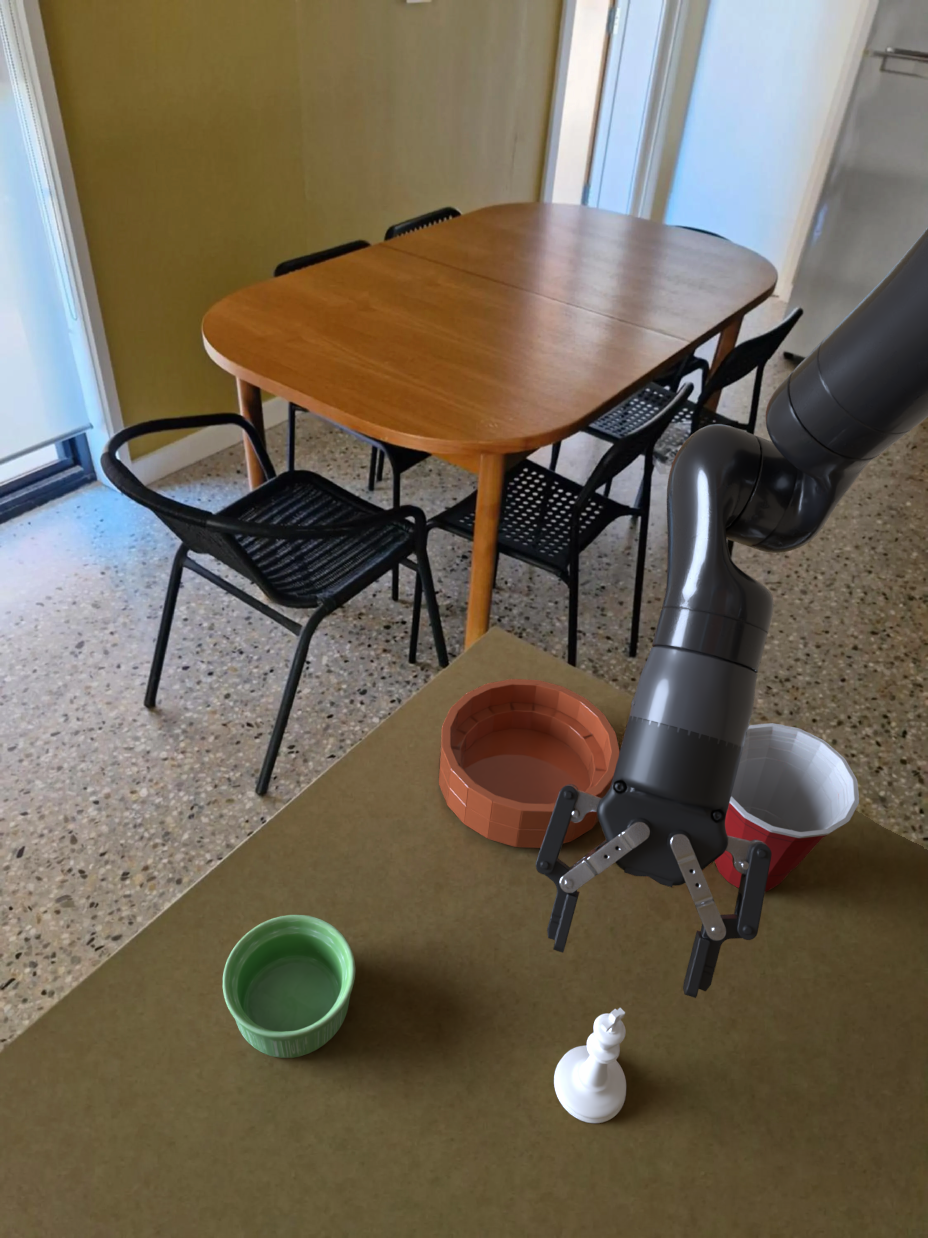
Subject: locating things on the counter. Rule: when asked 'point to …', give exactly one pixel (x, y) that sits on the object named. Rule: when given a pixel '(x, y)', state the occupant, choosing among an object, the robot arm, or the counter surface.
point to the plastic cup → (787, 797)
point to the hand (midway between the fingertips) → (623, 971)
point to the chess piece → (594, 1073)
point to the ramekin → (289, 984)
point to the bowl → (523, 758)
